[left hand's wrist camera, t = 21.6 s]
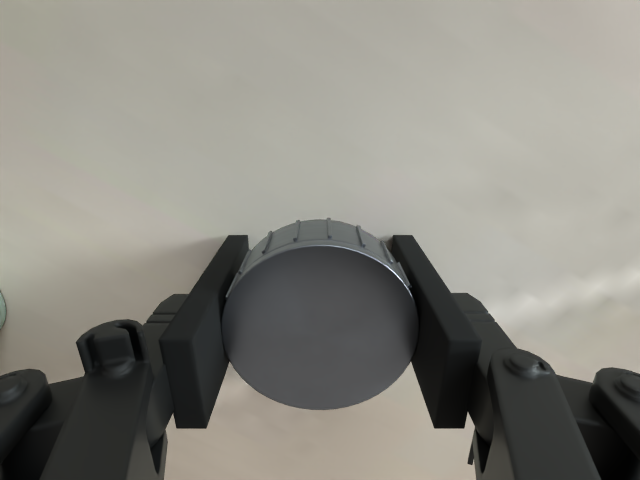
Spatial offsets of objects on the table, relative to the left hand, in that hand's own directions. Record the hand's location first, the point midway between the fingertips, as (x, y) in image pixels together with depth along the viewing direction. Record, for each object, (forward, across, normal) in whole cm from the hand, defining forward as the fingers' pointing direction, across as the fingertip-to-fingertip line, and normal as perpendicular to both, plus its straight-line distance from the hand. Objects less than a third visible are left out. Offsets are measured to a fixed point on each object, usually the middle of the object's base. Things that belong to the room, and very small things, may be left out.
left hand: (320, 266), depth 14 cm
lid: (-4, 0, 0) cm, 4 cm away
